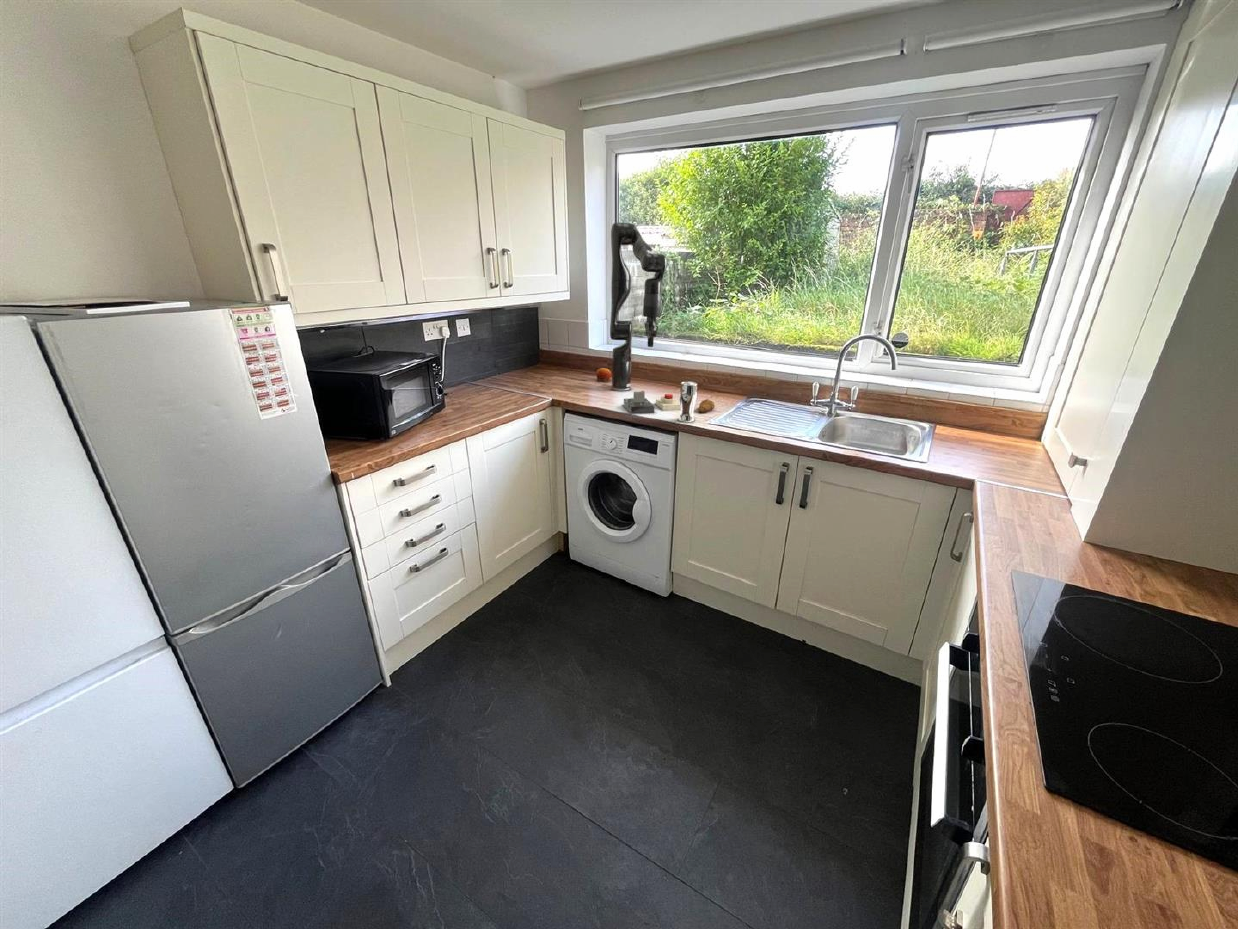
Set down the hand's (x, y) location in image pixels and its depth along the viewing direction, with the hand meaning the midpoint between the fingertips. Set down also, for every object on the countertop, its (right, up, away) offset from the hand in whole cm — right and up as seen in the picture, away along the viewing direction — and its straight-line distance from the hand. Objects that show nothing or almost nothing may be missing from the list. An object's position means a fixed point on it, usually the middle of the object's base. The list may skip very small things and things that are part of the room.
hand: (650, 346), depth 216 cm
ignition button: (+8, -22, +2) cm, 24 cm away
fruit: (-22, -7, +50) cm, 55 cm away
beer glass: (+14, -33, -15) cm, 39 cm away
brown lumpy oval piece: (+24, -28, -1) cm, 37 cm away
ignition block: (+8, -26, +3) cm, 27 cm away
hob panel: (-5, -27, -1) cm, 28 cm away
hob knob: (-5, -24, -3) cm, 25 cm away
